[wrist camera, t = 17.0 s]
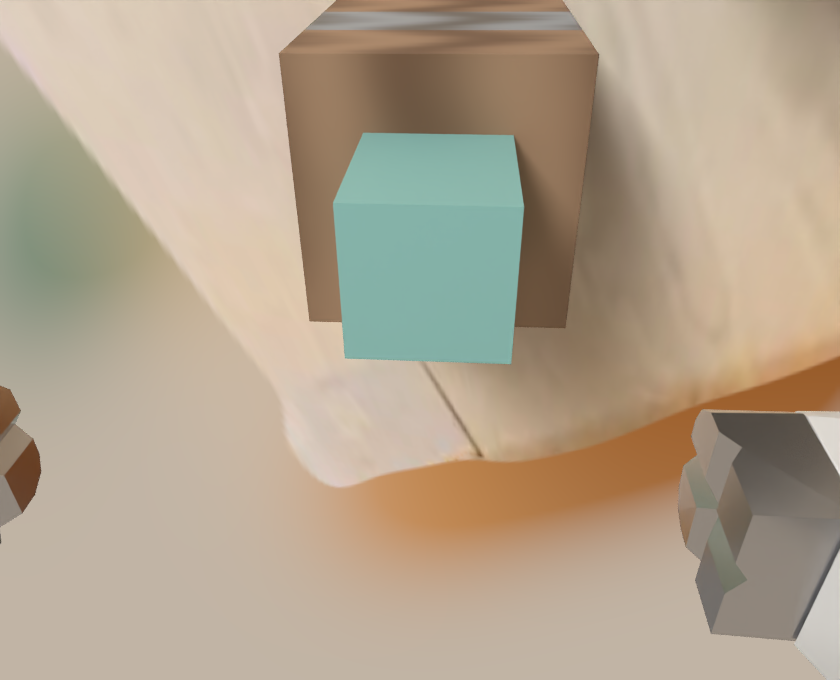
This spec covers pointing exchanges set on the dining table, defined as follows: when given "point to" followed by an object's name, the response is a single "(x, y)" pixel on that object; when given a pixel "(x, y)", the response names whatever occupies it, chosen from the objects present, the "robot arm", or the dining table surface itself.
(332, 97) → the taped cardboard box
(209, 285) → the dining table surface
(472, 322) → the teal brick
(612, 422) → the dining table surface
